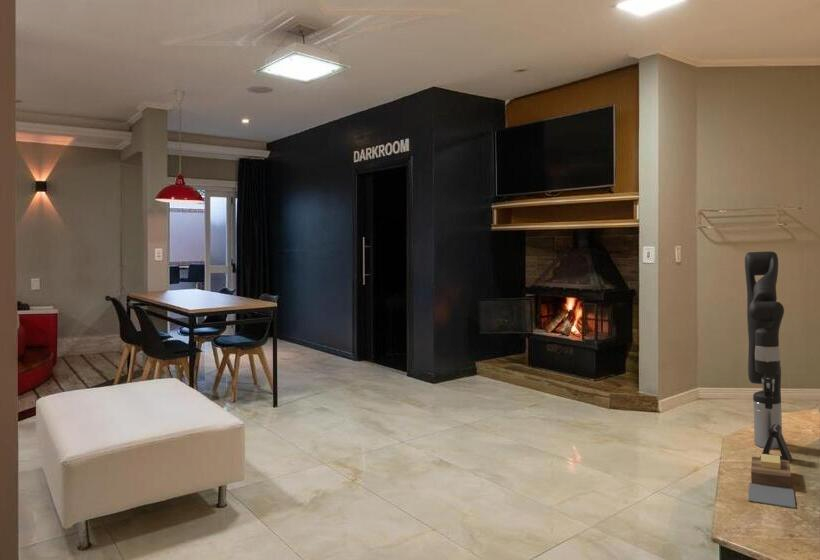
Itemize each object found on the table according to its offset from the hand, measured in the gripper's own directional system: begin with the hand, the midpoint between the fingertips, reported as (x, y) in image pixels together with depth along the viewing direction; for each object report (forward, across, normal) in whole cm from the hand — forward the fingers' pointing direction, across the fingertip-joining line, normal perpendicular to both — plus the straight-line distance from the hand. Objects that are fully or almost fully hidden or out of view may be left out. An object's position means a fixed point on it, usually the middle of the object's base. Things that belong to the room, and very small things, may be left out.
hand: (768, 407), depth 204 cm
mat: (+21, +28, 0) cm, 35 cm away
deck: (+21, +12, 0) cm, 24 cm away
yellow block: (+17, +10, 0) cm, 20 cm away
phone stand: (+21, -10, +2) cm, 24 cm away
